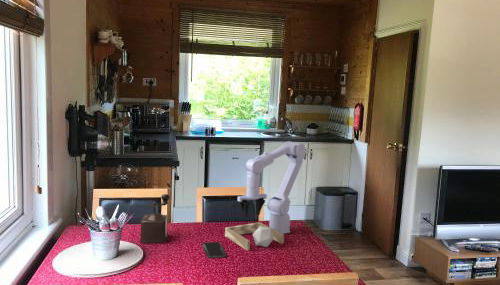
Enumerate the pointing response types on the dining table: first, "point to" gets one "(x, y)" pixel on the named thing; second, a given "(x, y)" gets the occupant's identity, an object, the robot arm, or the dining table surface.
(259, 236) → the die
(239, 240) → the wooden frame
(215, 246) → the phone
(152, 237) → the coffee grinder box
